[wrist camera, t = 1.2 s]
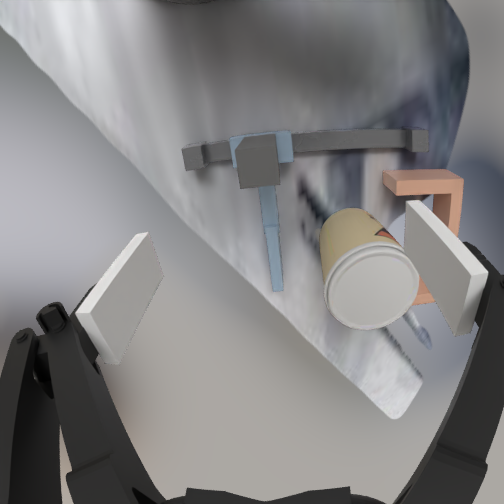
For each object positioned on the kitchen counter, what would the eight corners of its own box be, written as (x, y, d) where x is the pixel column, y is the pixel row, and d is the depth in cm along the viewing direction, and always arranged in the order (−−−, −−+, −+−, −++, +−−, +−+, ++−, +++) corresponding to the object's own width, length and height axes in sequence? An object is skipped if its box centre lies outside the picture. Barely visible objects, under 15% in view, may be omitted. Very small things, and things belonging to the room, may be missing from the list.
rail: (189, 144, 34) (181, 148, 31) (417, 127, 30) (428, 130, 28) (192, 164, 35) (185, 170, 32) (417, 147, 32) (428, 152, 29)
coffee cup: (394, 250, 38) (430, 307, 27) (330, 281, 41) (346, 345, 30) (369, 187, 34) (407, 229, 24) (298, 222, 37) (307, 277, 26)
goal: (383, 170, 33) (396, 180, 29) (445, 169, 32) (463, 179, 28) (378, 288, 41) (387, 308, 37) (432, 281, 40) (445, 300, 36)
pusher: (233, 135, 33) (214, 153, 23) (289, 128, 32) (296, 143, 22) (254, 275, 40) (247, 335, 30) (301, 271, 40) (309, 331, 30)
